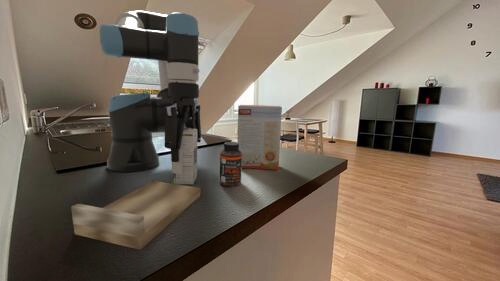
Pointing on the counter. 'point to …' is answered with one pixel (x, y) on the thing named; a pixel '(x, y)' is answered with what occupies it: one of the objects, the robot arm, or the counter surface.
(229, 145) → the supplement bottle
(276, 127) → the cracker box
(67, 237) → the counter surface
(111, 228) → the shelf board
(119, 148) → the robot arm
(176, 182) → the syrup box
